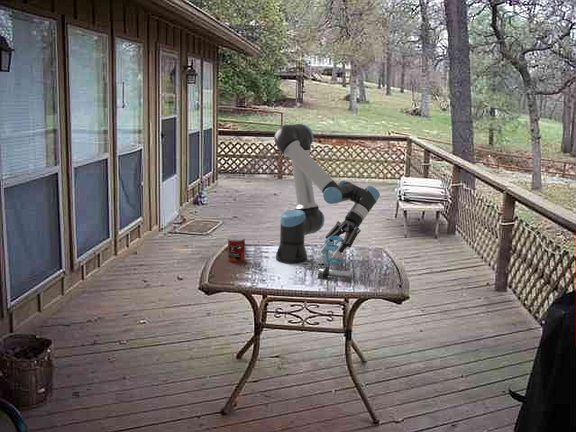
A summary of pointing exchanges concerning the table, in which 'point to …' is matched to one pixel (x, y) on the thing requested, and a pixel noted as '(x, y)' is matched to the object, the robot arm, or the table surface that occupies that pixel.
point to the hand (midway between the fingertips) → (328, 254)
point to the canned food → (236, 249)
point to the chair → (333, 248)
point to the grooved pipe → (334, 274)
